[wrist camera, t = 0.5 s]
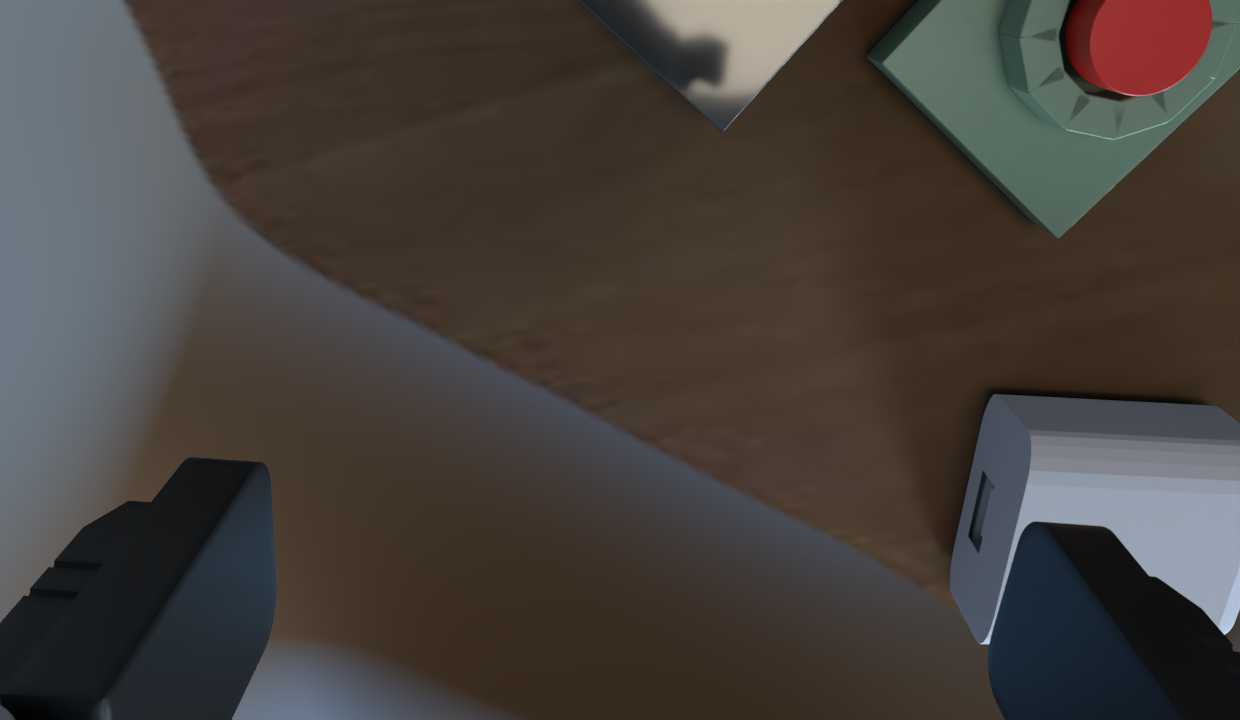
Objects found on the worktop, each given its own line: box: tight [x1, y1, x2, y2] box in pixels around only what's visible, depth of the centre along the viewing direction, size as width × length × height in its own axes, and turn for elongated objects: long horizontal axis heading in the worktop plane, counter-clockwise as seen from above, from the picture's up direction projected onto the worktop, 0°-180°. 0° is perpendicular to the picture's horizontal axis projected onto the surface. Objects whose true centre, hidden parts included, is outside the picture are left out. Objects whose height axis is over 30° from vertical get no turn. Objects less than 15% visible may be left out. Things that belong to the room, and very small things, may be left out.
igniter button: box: [1065, 0, 1212, 96], centre depth 31 cm, size 4×4×2 cm
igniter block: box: [867, 0, 1240, 239], centre depth 33 cm, size 11×9×4 cm
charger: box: [950, 394, 1240, 644], centre depth 40 cm, size 5×9×15 cm
